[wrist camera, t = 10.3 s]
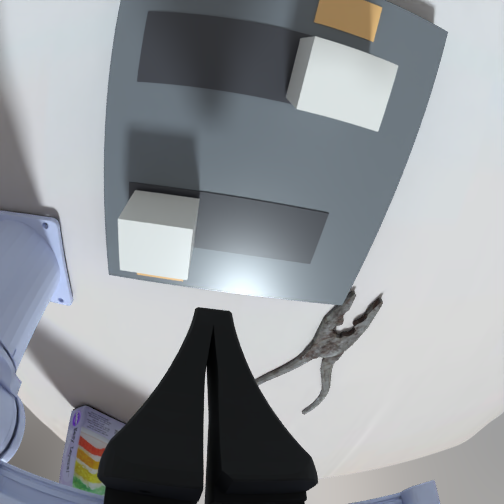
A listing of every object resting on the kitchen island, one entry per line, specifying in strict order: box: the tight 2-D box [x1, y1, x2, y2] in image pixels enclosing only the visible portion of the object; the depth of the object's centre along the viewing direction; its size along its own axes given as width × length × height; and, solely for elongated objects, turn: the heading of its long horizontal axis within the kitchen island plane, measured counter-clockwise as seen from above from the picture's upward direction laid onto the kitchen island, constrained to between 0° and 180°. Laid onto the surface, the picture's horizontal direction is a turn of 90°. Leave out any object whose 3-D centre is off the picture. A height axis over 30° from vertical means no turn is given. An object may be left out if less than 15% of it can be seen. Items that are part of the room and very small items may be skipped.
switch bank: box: [104, 0, 448, 305], centre depth 16 cm, size 16×19×2 cm
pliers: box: [255, 291, 383, 414], centre depth 29 cm, size 10×1×20 cm
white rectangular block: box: [286, 36, 398, 132], centre depth 12 cm, size 4×3×3 cm
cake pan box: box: [59, 405, 126, 496], centre depth 32 cm, size 19×5×18 cm, turn 37°
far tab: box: [118, 190, 200, 280], centre depth 16 cm, size 4×3×3 cm
